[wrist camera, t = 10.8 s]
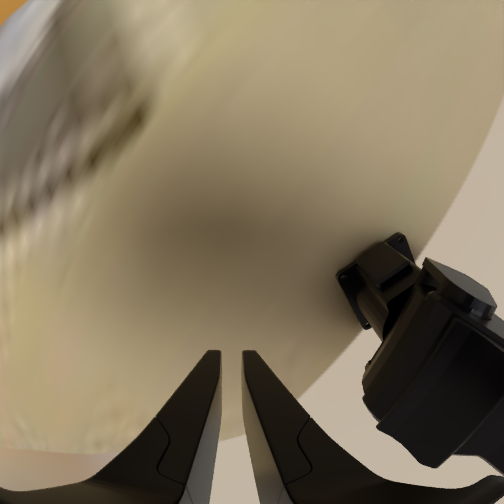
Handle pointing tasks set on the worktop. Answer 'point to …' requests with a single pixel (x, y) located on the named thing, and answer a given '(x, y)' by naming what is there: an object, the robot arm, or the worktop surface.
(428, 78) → the worktop surface
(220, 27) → the worktop surface
